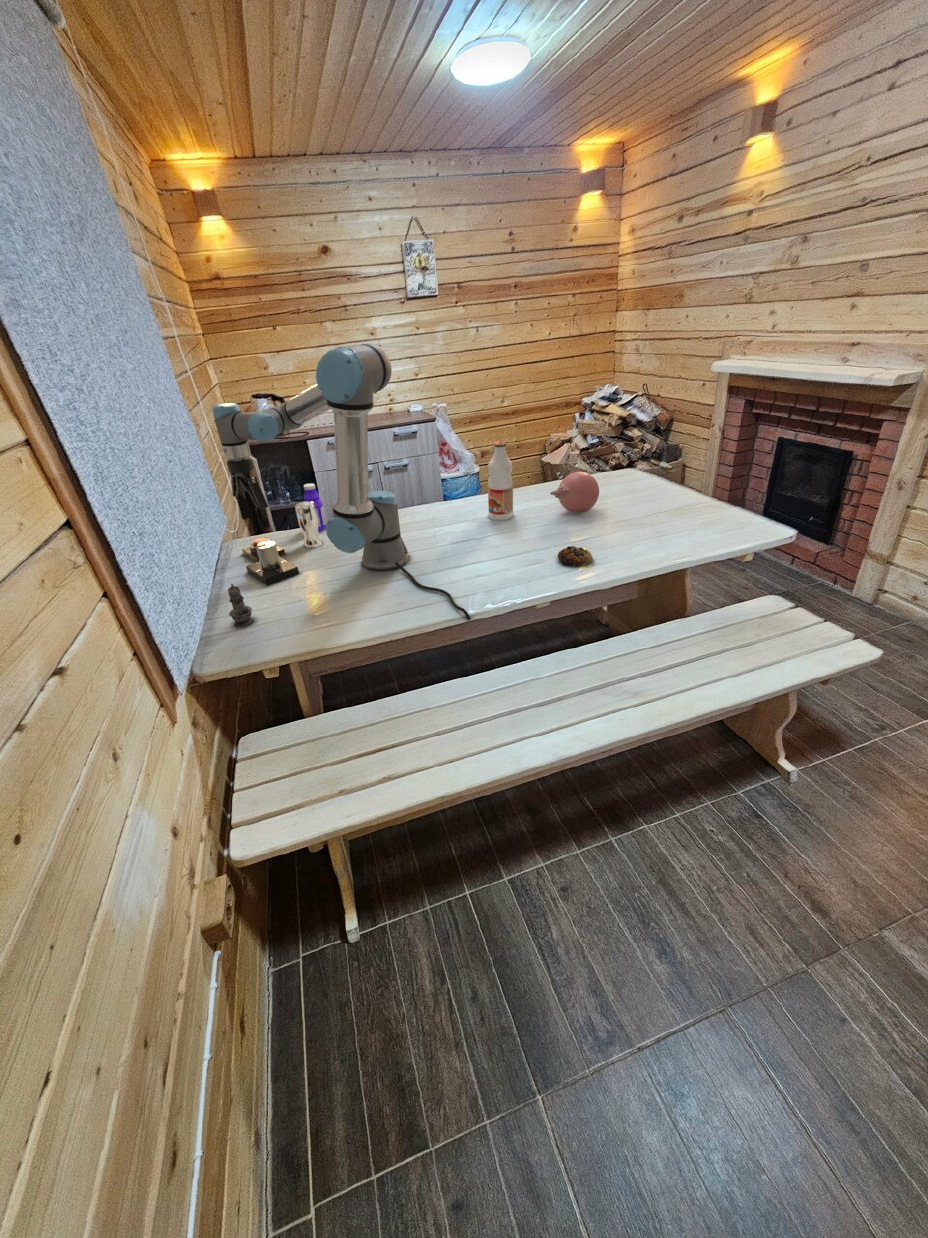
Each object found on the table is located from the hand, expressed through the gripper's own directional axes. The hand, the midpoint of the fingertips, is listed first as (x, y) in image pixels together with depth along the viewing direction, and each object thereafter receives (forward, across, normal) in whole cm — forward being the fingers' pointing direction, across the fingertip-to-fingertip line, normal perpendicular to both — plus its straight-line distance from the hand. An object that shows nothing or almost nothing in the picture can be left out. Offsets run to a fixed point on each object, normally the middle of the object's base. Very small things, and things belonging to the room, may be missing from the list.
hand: (255, 523), depth 171 cm
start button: (+10, -5, +2) cm, 11 cm away
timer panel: (+13, +12, -3) cm, 18 cm away
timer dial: (+11, +12, -3) cm, 16 cm away
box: (+14, -5, +2) cm, 15 cm away
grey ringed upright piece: (+13, +34, -24) cm, 44 cm away
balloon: (+12, +55, +100) cm, 115 cm away
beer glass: (+14, +1, +18) cm, 23 cm away
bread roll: (+12, +81, +66) cm, 105 cm away
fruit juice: (+13, +36, +80) cm, 89 cm away
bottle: (+14, -11, +27) cm, 32 cm away
